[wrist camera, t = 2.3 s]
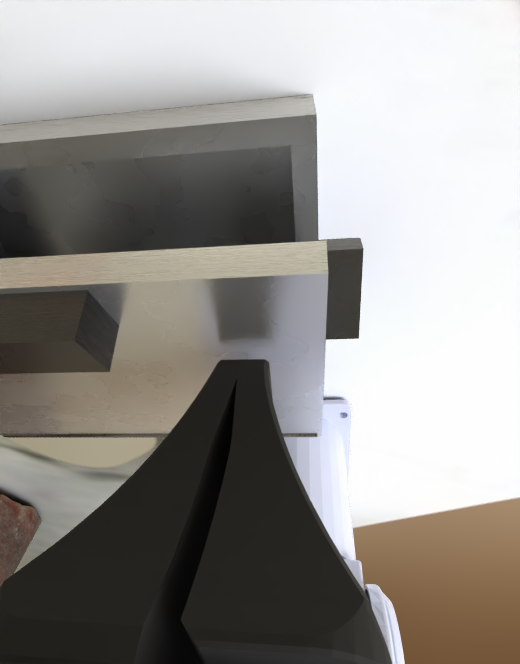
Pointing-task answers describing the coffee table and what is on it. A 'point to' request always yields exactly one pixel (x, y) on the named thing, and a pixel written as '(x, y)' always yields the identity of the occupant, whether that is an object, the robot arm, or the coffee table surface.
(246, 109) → the cooker pot
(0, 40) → the coffee table surface
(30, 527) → the candle
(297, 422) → the lid
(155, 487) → the robot arm
